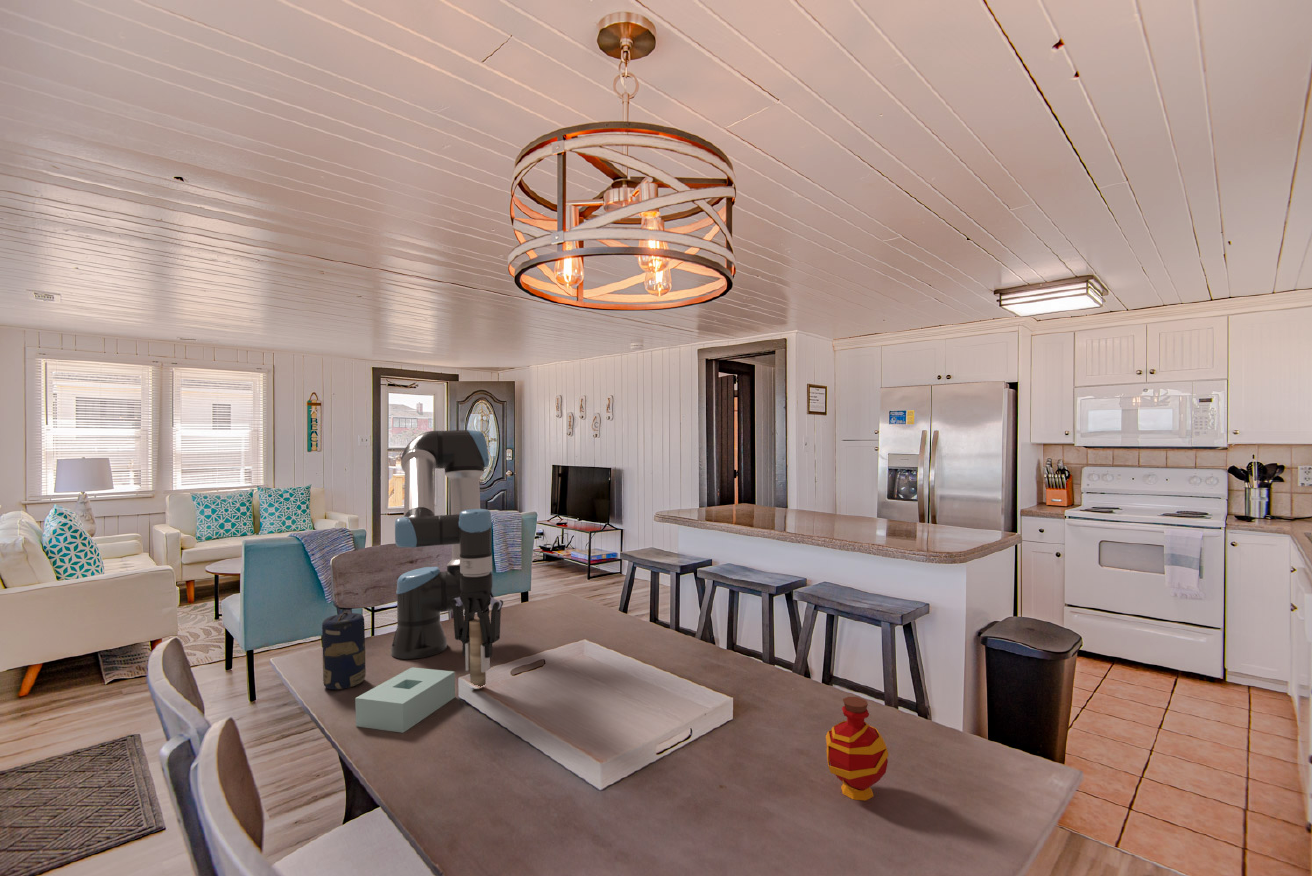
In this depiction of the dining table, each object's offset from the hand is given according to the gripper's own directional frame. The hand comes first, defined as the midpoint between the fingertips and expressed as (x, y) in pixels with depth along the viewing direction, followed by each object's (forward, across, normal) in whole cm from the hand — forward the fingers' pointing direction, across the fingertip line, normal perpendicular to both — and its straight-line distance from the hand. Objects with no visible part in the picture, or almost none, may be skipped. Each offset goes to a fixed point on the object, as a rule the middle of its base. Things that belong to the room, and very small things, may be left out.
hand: (477, 669), depth 147 cm
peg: (+4, 0, 0) cm, 4 cm away
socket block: (+5, -9, -14) cm, 17 cm away
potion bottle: (+4, +87, -22) cm, 90 cm away
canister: (+5, -35, -5) cm, 36 cm away
